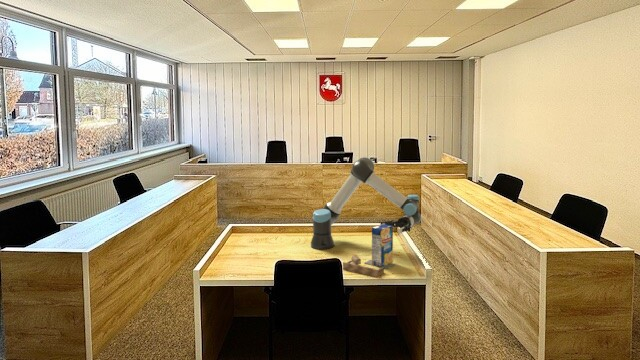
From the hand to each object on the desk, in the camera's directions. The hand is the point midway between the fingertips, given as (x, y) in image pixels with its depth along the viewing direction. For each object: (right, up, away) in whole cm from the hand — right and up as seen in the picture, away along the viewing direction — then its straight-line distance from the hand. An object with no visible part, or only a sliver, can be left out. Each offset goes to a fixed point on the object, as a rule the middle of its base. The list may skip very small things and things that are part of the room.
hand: (388, 229), depth 316 cm
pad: (-6, -20, -6) cm, 22 cm away
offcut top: (-20, -18, -10) cm, 29 cm away
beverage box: (-4, -19, -6) cm, 21 cm away
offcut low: (-21, -21, -9) cm, 31 cm away
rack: (-17, -22, -17) cm, 32 cm away
